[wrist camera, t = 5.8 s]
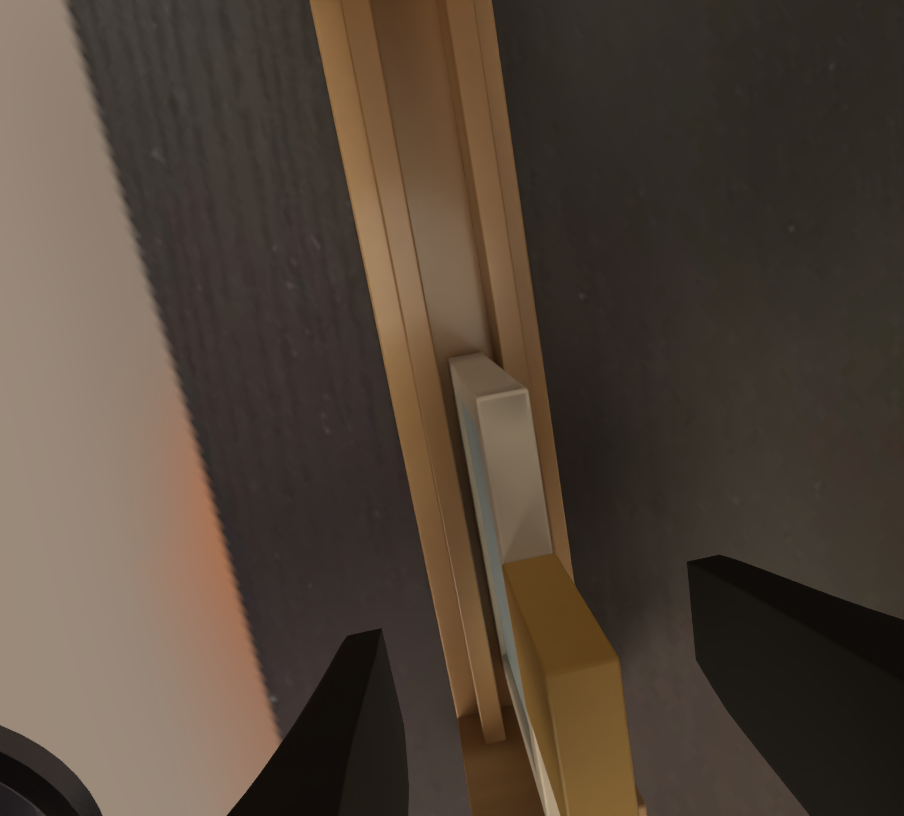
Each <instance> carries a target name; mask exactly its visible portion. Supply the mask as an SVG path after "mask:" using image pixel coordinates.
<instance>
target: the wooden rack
mask: <svg viewBox="0 0 904 816" xmlns="http://www.w3.org/2000/svg"><path fill="white" fill-rule="evenodd" d="M309 1H310V6H311V10H312V15H313V20H314V25H315V30H316V35H317V40H318V45H319V49H320V54H321V59H322V64H323V69H324V74H325V79H326V83H327V88H328V93H329V98H330V103H331V108H332V113H333V117H334V122H335V127H336V132H337V137H338V142H339V147H340V152H341V156H342V161H343V166H344V171H345V176H346V181H347V186H348V190H349V195H350V200H351V205H352V210H353V215H354V220H355V225H356V229H357V234H358V239H359V244H360V249H361V254H362V259H363V263H364V268H365V273H366V278H367V283H368V288H369V293H370V298H371V302H372V307H373V312H374V317H375V322H376V327H377V332H378V336H379V341H380V346H381V351H382V356H383V361H384V366H385V370H386V375H387V380H388V385H389V390H390V395H391V400H392V405H393V409H394V414H395V419H396V424H397V429H398V434H399V439H400V443H401V448H402V453H403V458H404V463H405V468H406V473H407V478H408V482H409V487H410V492H411V497H412V502H413V507H414V512H415V516H416V521H417V526H418V531H419V536H420V541H421V546H422V551H423V555H424V560H425V565H426V570H427V575H428V580H429V585H430V589H431V594H432V599H433V604H434V609H435V614H436V619H437V623H438V628H439V633H440V638H441V643H442V648H443V653H444V658H445V662H446V667H447V672H448V677H449V682H450V687H451V692H452V696H453V701H454V706H455V711H456V716H457V721H458V728H459V735H460V741H461V748H462V754H463V761H464V767H465V774H466V781H467V787H468V794H469V800H470V807H471V814H472V816H545V813H544V810H543V806H542V803H541V799H540V796H539V792H538V789H537V785H536V782H535V778H534V775H533V771H532V768H531V764H530V761H529V758H528V754H527V751H526V747H525V744H524V740H523V737H522V733H521V730H520V726H519V723H518V719H517V716H516V712H515V709H514V706H513V702H512V699H511V695H510V692H509V688H508V685H507V681H506V678H505V675H504V671H503V667H502V661H501V656H500V650H499V645H498V639H497V633H496V628H495V622H494V617H493V611H492V606H491V600H490V595H489V589H488V583H487V578H486V572H485V567H484V561H483V556H482V550H481V545H480V539H479V533H478V528H477V522H476V517H475V511H474V506H473V500H472V495H471V489H470V483H469V478H468V472H467V467H466V461H465V456H464V450H463V445H462V439H461V433H460V428H459V422H458V417H457V411H456V406H455V400H454V394H453V389H452V383H451V378H450V372H449V367H448V361H447V359H448V358H451V357H456V356H461V355H467V354H472V353H477V352H483V353H484V355H486V356H487V357H488V358H489V359H491V360H492V361H493V362H494V363H495V364H497V365H498V366H499V367H500V368H502V369H503V370H504V371H505V372H507V373H508V374H509V375H510V376H511V377H513V378H514V379H515V380H516V381H518V382H519V383H521V384H522V385H523V386H525V387H526V388H527V389H528V391H529V398H530V405H531V412H532V418H533V425H534V432H535V438H536V445H537V452H538V458H539V465H540V472H541V478H542V485H543V492H544V499H545V505H546V512H547V519H548V525H549V532H550V539H551V545H552V552H553V553H555V554H556V555H557V556H558V558H559V559H560V561H561V563H562V564H563V566H564V568H565V569H566V571H567V573H568V574H569V576H570V578H571V579H572V581H573V583H574V577H573V570H572V563H571V555H570V548H569V541H568V534H567V527H566V520H565V513H564V506H563V499H562V492H561V485H560V478H559V471H558V464H557V457H556V450H555V443H554V436H553V429H552V421H551V414H550V407H549V400H548V393H547V386H546V379H545V372H544V365H543V358H542V351H541V344H540V337H539V330H538V323H537V316H536V309H535V302H534V294H533V287H532V280H531V273H530V266H529V259H528V252H527V245H526V238H525V231H524V224H523V217H522V210H521V203H520V196H519V189H518V182H517V175H516V167H515V160H514V153H513V146H512V139H511V132H510V125H509V118H508V111H507V104H506V97H505V90H504V83H503V76H502V69H501V62H500V55H499V48H498V41H497V33H496V26H495V19H494V12H493V5H492V0H309ZM635 787H636V795H637V803H638V810H639V816H647V810H646V805H645V802H644V800H643V798H642V796H641V794H640V792H639V790H638V788H637V786H636V784H635Z"/></svg>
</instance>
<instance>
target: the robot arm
mask: <svg viewBox="0 0 904 816" xmlns="http://www.w3.org/2000/svg"><path fill="white" fill-rule="evenodd" d="M687 567H688V578H689V589H690V600H691V611H692V622H693V633H694V644H695V655H696V661H697V662H698V664H699V666H700V667H701V669H702V671H703V672H704V674H705V676H706V677H707V679H708V681H709V682H710V684H711V686H712V688H713V689H714V691H715V692H716V694H717V695H718V697H719V699H720V700H721V702H722V703H723V705H724V707H725V708H726V710H727V711H728V713H729V714H730V715H731V716H732V718H733V719H734V720H735V722H736V723H737V724H738V726H739V727H740V728H741V729H742V731H743V732H744V733H745V734H746V736H747V737H748V738H749V740H750V741H751V742H752V743H753V745H754V746H755V747H756V749H757V750H758V751H759V752H760V754H761V755H762V756H763V757H764V759H765V760H766V761H767V762H768V764H769V765H770V766H771V767H772V769H773V770H774V771H775V772H776V774H777V775H778V776H779V777H780V779H781V780H782V781H783V782H784V784H785V785H786V786H787V787H788V789H789V790H790V791H791V792H792V794H793V795H794V796H795V797H796V799H797V800H798V801H799V802H800V804H801V805H802V806H803V808H804V809H805V810H806V811H807V813H808V814H809V815H810V816H904V620H903V619H899V618H896V617H893V616H890V615H887V614H884V613H881V612H878V611H875V610H872V609H869V608H866V607H863V606H860V605H857V604H854V603H851V602H849V601H846V600H843V599H840V598H837V597H835V596H832V595H829V594H826V593H824V592H821V591H818V590H816V589H813V588H810V587H808V586H805V585H802V584H800V583H797V582H794V581H792V580H789V579H787V578H784V577H781V576H779V575H776V574H773V573H771V572H768V571H766V570H763V569H760V568H758V567H755V566H752V565H749V564H747V563H744V562H741V561H738V560H735V559H732V558H729V557H725V556H722V555H716V556H711V557H707V558H702V559H697V560H693V561H688V562H687ZM408 801H409V782H408V768H407V755H406V742H405V730H404V723H403V719H402V715H401V710H400V706H399V702H398V697H397V693H396V689H395V684H394V680H393V676H392V671H391V667H390V663H389V658H388V654H387V650H386V646H385V641H384V637H383V633H382V628H381V629H376V630H372V631H367V632H362V633H358V634H353V635H349V636H347V637H346V638H345V640H344V641H343V643H342V644H341V646H340V648H339V649H338V651H337V653H336V655H335V657H334V658H333V660H332V662H331V664H330V666H329V667H328V669H327V671H326V673H325V674H324V676H323V678H322V679H321V681H320V683H319V685H318V686H317V688H316V690H315V691H314V693H313V695H312V696H311V698H310V699H309V701H308V703H307V704H306V706H305V708H304V709H303V711H302V712H301V714H300V716H299V717H298V719H297V720H296V722H295V724H294V725H293V727H292V728H291V730H290V731H289V733H288V734H287V736H286V737H285V738H284V740H283V741H282V743H281V744H280V746H279V747H278V749H277V750H276V751H275V753H274V754H273V756H272V757H271V759H270V760H269V761H268V763H267V764H266V766H265V767H264V769H263V770H262V771H261V773H260V774H259V776H258V777H257V778H256V780H255V781H254V782H253V784H252V785H251V786H250V787H249V789H248V790H247V792H246V793H245V794H244V795H243V797H242V798H241V799H240V800H239V801H238V803H237V804H236V805H235V806H234V807H233V809H232V810H231V811H230V812H229V813H228V815H227V816H408Z"/></svg>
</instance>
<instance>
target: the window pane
mask: <svg viewBox="0 0 904 816" xmlns="http://www.w3.org/2000/svg"><path fill="white" fill-rule="evenodd" d="M447 361H448V367H449V372H450V378H451V383H452V389H453V394H454V400H455V406H456V411H457V417H458V422H459V428H460V433H461V439H462V445H463V450H464V456H465V461H466V467H467V472H468V478H469V483H470V489H471V495H472V500H473V506H474V511H475V517H476V522H477V528H478V533H479V539H480V545H481V550H482V556H483V561H484V567H485V572H486V578H487V583H488V589H489V595H490V600H491V606H492V611H493V617H494V622H495V628H496V633H497V639H498V645H499V650H500V656H501V661H502V667H503V671H504V675H505V678H506V681H507V685H508V688H509V692H510V695H511V699H512V702H513V706H514V709H515V712H516V716H517V719H518V723H519V726H520V730H521V733H522V737H523V740H524V744H525V747H526V751H527V754H528V758H529V761H530V764H531V768H532V771H533V775H534V778H535V782H536V785H537V789H538V792H539V796H540V799H541V803H542V806H543V810H544V813H545V816H639V810H638V803H637V795H636V787H635V779H634V771H633V763H632V755H631V747H630V739H629V731H628V723H627V715H626V707H625V700H624V692H623V684H622V676H621V668H620V660H619V657H618V656H617V654H616V652H615V651H614V649H613V647H612V646H611V644H610V642H609V641H608V639H607V638H606V636H605V634H604V633H603V631H602V629H601V628H600V626H599V624H598V623H597V621H596V619H595V618H594V616H593V614H592V613H591V611H590V609H589V608H588V606H587V604H586V603H585V601H584V599H583V598H582V596H581V594H580V593H579V591H578V589H577V588H576V586H575V584H574V583H573V581H572V579H571V578H570V576H569V574H568V573H567V571H566V569H565V568H564V566H563V564H562V563H561V561H560V559H559V558H558V556H557V555H556V554H555V553H553V552H552V545H551V539H550V532H549V525H548V519H547V512H546V505H545V499H544V492H543V485H542V478H541V472H540V465H539V458H538V452H537V445H536V438H535V432H534V425H533V418H532V412H531V405H530V398H529V391H528V389H527V388H526V387H525V386H523V385H522V384H521V383H519V382H518V381H516V380H515V379H514V378H513V377H511V376H510V375H509V374H508V373H507V372H505V371H504V370H503V369H502V368H500V367H499V366H498V365H497V364H495V363H494V362H493V361H492V360H491V359H489V358H488V357H487V356H486V355H484V353H483V352H477V353H472V354H467V355H461V356H456V357H451V358H448V359H447Z"/></svg>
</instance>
